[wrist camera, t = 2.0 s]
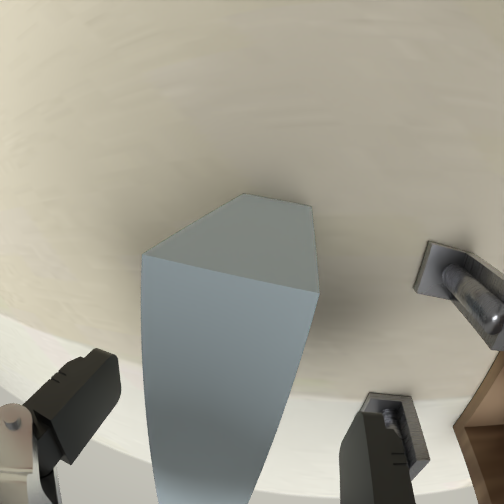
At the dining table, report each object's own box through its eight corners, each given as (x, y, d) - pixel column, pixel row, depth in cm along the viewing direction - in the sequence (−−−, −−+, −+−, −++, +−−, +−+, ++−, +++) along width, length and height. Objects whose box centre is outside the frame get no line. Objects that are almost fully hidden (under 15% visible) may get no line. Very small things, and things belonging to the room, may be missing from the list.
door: (221, 189, 14) (96, 243, 5) (311, 206, 13) (319, 293, 5) (200, 368, 17) (134, 495, 8) (269, 384, 16) (237, 526, 8)
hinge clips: (428, 241, 13) (479, 281, 8) (474, 253, 12) (529, 294, 8) (355, 420, 16) (360, 485, 12) (394, 423, 16) (407, 484, 11)
